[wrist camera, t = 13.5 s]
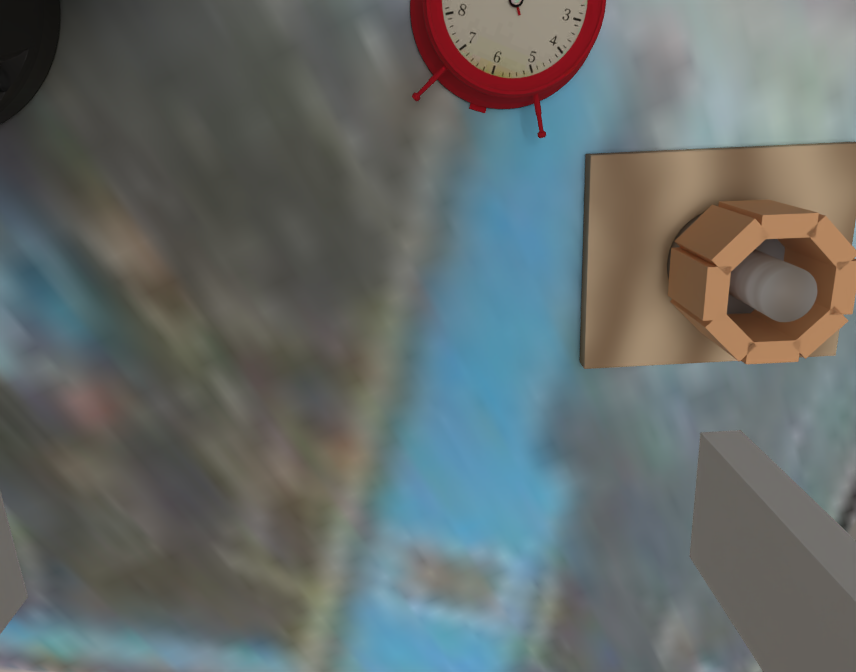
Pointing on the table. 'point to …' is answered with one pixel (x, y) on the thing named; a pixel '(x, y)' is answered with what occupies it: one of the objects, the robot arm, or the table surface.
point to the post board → (654, 218)
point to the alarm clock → (504, 47)
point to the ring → (729, 245)
